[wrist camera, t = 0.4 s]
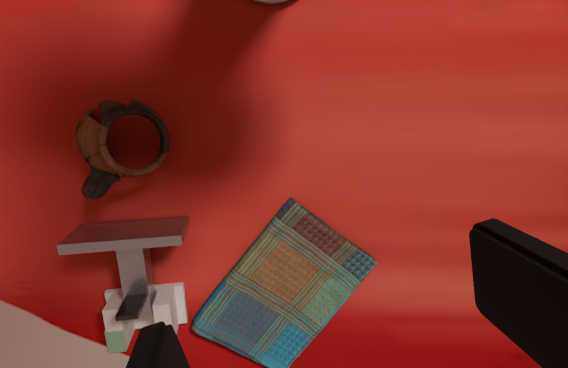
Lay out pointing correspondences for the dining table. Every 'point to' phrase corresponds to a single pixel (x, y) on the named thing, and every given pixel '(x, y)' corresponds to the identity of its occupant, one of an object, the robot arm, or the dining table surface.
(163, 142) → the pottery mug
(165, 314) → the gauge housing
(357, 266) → the dish towel
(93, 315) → the dining table surface
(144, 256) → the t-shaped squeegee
